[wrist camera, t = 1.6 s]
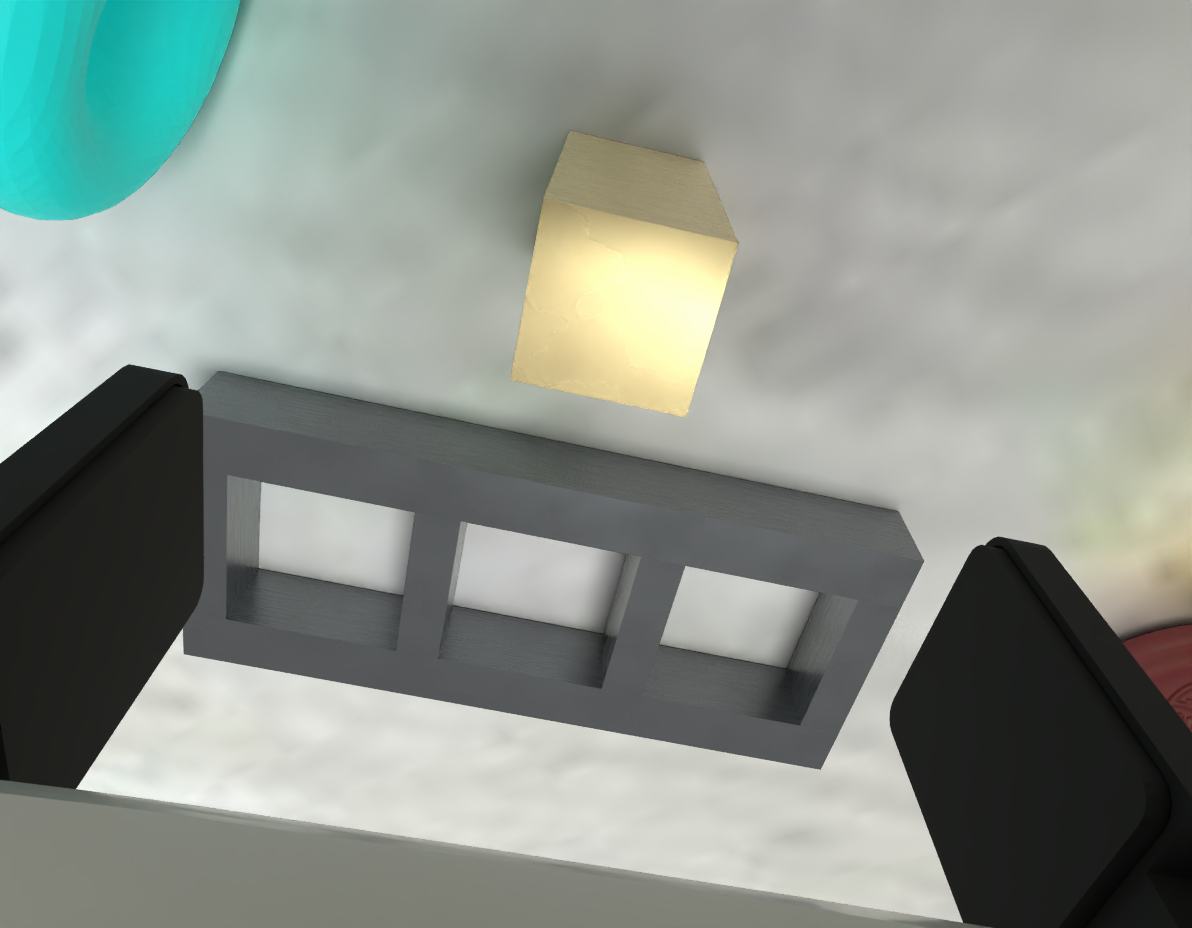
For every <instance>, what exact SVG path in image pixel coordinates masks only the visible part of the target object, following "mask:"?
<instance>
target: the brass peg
mask: <svg viewBox="0 0 1192 928" xmlns="http://www.w3.org/2000/svg"><path fill="white" fill-rule="evenodd" d="M737 246H738V241H737V238H736V236H735V234H734V231H733V229H732V227H731V224H730V222H729V219H728V217H727V215H726V212H725V210H724V208H723V205H722V203H721V201H720V198H719V196H718V194H717V191H716V189H715V187H714V184H713V182H712V180H711V177H710V175H709V173H708V170H707V168H706V166H705V163H704V162H702V161H698V160H693V159H689V158H685V157H681V156H676V155H672V154H668V153H664V152H659V151H655V150H651V149H647V148H642V147H638V146H634V145H630V144H625V143H621V142H617V141H613V140H608V139H604V138H600V137H596V136H591V135H587V134H583V133H579V132H574V131H570V132H569V134H568V137H567V139H566V142H565V144H564V147H563V149H562V152H561V155H560V157H559V160H558V162H557V165H556V167H555V170H554V172H553V175H552V177H551V180H550V183H549V185H548V188H547V190H546V193H545V195H544V198H543V203H542V208H541V214H540V219H539V225H538V230H537V235H536V241H535V246H534V252H533V257H532V263H531V268H530V274H529V279H528V285H527V290H526V295H525V301H524V306H523V312H522V317H521V323H520V328H519V334H518V339H517V345H516V350H515V355H514V361H513V366H512V372H511V377H510V380H512V381H517V382H522V383H526V384H531V385H536V386H541V387H545V388H550V389H555V390H560V391H564V392H569V393H574V394H578V395H583V396H588V397H593V398H597V399H602V400H607V401H612V402H616V403H621V404H626V405H630V406H635V407H640V408H645V409H649V410H654V411H659V412H663V413H668V414H673V415H678V416H682V417H686V416H687V413H688V410H689V406H690V403H691V400H692V396H693V393H694V390H695V386H696V383H697V380H698V376H699V373H700V370H701V366H702V363H703V360H704V356H705V353H706V350H707V346H708V343H709V340H710V336H711V333H712V330H713V326H714V323H715V320H716V316H717V313H718V310H719V306H720V303H721V300H722V296H723V293H724V290H725V286H726V283H727V280H728V276H729V273H730V270H731V266H732V263H733V260H734V256H735V253H736V250H737Z"/></svg>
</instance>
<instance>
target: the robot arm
mask: <svg viewBox="0 0 1192 928" xmlns="http://www.w3.org/2000/svg"><path fill="white" fill-rule="evenodd" d="M203 583H204V482H203V399H202V396H201V393H200V392H199V391H197V390H192V389H189V388H188V384H187V381H186V379H185V377H184V376H183V375H181V374H176V373H170V372H165V371H160V370H155V369H150V368H145V367H140V366H135V365H127V366H124V367H123V368H121V369H120V370H119V371H117V372H116V373H115V374H114V375H112V376H111V377H110V378H109V379H107V380H106V381H105V382H103V383H102V384H101V385H100V386H98V387H97V388H96V389H95V390H93V391H92V392H91V393H89V394H88V395H87V396H86V397H84V398H83V399H82V400H81V401H79V402H78V403H77V404H76V405H74V406H73V407H72V408H70V409H69V410H68V411H67V412H65V413H64V414H63V415H62V416H60V417H59V418H58V419H56V420H55V421H54V422H53V423H51V424H50V425H49V426H48V427H46V428H45V429H44V430H43V431H41V432H40V433H39V434H37V435H36V436H35V437H34V438H32V439H31V440H30V441H29V442H27V443H26V444H25V445H23V446H22V447H21V448H20V449H18V450H17V451H16V452H15V453H13V454H12V455H11V456H9V457H8V458H7V459H6V460H4V461H3V462H2V463H1V464H0V928H1192V732H1191V731H1190V729H1189V728H1188V727H1187V725H1186V724H1185V723H1184V722H1183V720H1182V719H1181V718H1180V716H1179V715H1178V714H1177V713H1176V711H1175V710H1174V709H1173V707H1172V706H1171V705H1170V704H1169V702H1168V701H1167V700H1166V698H1165V697H1164V696H1163V695H1162V693H1161V692H1160V691H1159V689H1158V688H1157V687H1156V685H1155V684H1154V683H1153V682H1152V680H1151V679H1150V678H1149V676H1148V675H1147V674H1146V673H1145V671H1144V670H1143V669H1142V667H1141V666H1140V665H1139V664H1138V662H1137V661H1136V660H1135V658H1134V657H1133V656H1132V655H1131V653H1130V652H1129V651H1128V649H1127V648H1126V647H1125V646H1124V644H1123V643H1122V642H1121V640H1120V639H1119V638H1118V637H1117V635H1116V634H1115V633H1114V631H1113V630H1112V629H1111V628H1110V626H1109V625H1108V624H1107V622H1106V621H1105V620H1104V619H1103V617H1102V616H1101V615H1100V613H1099V612H1098V611H1097V609H1096V608H1095V607H1094V606H1093V604H1092V603H1091V602H1090V600H1089V599H1088V598H1087V597H1086V595H1085V594H1084V593H1083V591H1082V590H1081V589H1080V588H1079V586H1078V585H1077V584H1076V582H1075V581H1074V580H1073V579H1072V577H1071V576H1070V575H1069V573H1068V572H1067V571H1066V570H1065V568H1064V567H1063V566H1062V564H1061V563H1060V562H1059V561H1058V559H1057V558H1056V557H1055V555H1054V554H1053V553H1052V552H1051V550H1049V549H1048V548H1047V547H1046V546H1043V545H1039V544H1034V543H1029V542H1024V541H1019V540H1014V539H1009V538H1004V537H996V538H993V539H991V540H990V541H989V542H988V543H987V544H986V545H979V546H977V547H975V548H974V549H973V550H972V552H971V553H970V555H969V556H968V558H967V560H966V562H965V564H964V566H963V568H962V570H961V572H960V573H959V575H958V577H957V579H956V581H955V583H954V585H953V587H952V589H951V591H950V593H949V594H948V596H947V598H946V600H945V602H944V604H943V606H942V608H941V610H940V612H939V614H938V616H937V617H936V619H935V621H934V623H933V625H932V627H931V629H930V631H929V633H928V635H927V637H926V638H925V640H924V642H923V644H922V646H921V648H920V650H919V652H918V654H917V656H916V658H915V660H914V661H913V663H912V665H911V667H910V669H909V671H908V673H907V675H906V677H905V679H904V681H903V682H902V684H901V686H900V688H899V690H898V692H897V694H896V696H895V698H894V700H893V702H892V705H891V710H890V727H891V731H892V734H893V737H894V740H895V742H896V745H897V748H898V750H899V753H900V756H901V758H902V761H903V764H904V766H905V769H906V772H907V774H908V777H909V780H910V782H911V785H912V788H913V790H914V793H915V796H916V798H917V801H918V804H919V806H920V809H921V812H922V814H923V817H924V820H925V822H926V825H927V828H928V830H929V833H930V836H931V838H932V841H933V843H934V846H935V849H936V851H937V854H938V857H939V859H940V862H941V865H942V867H943V870H944V873H945V875H946V878H947V881H948V883H949V886H950V889H951V891H952V894H953V897H954V899H955V902H956V905H957V907H958V910H959V913H960V915H961V918H962V921H963V923H960V922H954V921H948V920H941V919H935V918H929V917H923V916H916V915H910V914H904V913H898V912H891V911H885V910H879V909H873V908H866V907H860V906H854V905H848V904H841V903H835V902H829V901H823V900H816V899H810V898H804V897H797V896H791V895H784V894H778V893H771V892H765V891H759V890H752V889H746V888H739V887H733V886H726V885H720V884H713V883H707V882H700V881H694V880H688V879H681V878H675V877H668V876H662V875H655V874H649V873H642V872H636V871H629V870H623V869H616V868H610V867H603V866H597V865H590V864H584V863H577V862H570V861H564V860H557V859H551V858H544V857H538V856H531V855H525V854H518V853H512V852H505V851H499V850H492V849H485V848H479V847H472V846H465V845H459V844H452V843H445V842H438V841H432V840H425V839H418V838H411V837H405V836H398V835H391V834H384V833H378V832H371V831H364V830H357V829H351V828H344V827H337V826H330V825H324V824H317V823H310V822H303V821H297V820H290V819H283V818H276V817H270V816H263V815H256V814H249V813H243V812H236V811H229V810H222V809H216V808H209V807H202V806H195V805H187V804H180V803H173V802H165V801H158V800H151V799H143V798H136V797H129V796H121V795H114V794H107V793H99V792H92V791H84V790H77V789H76V788H77V786H78V785H79V783H80V782H81V780H82V779H83V777H84V776H85V774H86V773H87V771H88V770H89V768H90V767H91V765H92V764H93V762H94V761H95V759H96V758H97V756H98V755H99V753H100V752H101V750H102V749H103V747H104V746H105V744H106V743H107V741H108V740H109V738H110V737H111V735H112V734H113V732H114V731H115V729H116V728H117V726H118V725H119V723H120V722H121V720H122V719H123V717H124V716H125V714H126V713H127V711H128V710H129V708H130V707H131V705H132V704H133V702H134V701H135V699H136V698H137V696H138V695H139V693H140V692H141V690H142V689H143V687H144V685H145V684H146V682H147V681H148V679H149V678H150V676H151V675H152V673H153V672H154V670H155V669H156V667H157V666H158V664H159V663H160V661H161V660H162V658H163V657H164V655H165V654H166V652H167V651H168V649H169V648H170V646H171V645H172V643H173V642H174V640H175V639H176V637H177V636H178V634H179V633H180V631H181V630H182V628H183V627H184V625H185V624H186V622H187V621H188V619H189V618H190V616H191V615H192V613H193V612H194V610H195V608H196V606H197V604H198V602H199V599H200V596H201V593H202V589H203Z"/></svg>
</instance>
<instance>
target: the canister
mask: <svg viewBox="0 0 1192 928" xmlns="http://www.w3.org/2000/svg"><path fill="white" fill-rule="evenodd" d="M1122 643H1123V644H1124V646H1125V647H1126V648H1127V649H1128V651H1129V652H1130V653H1131V655H1132V656H1133V657H1134V658H1135V660H1136V661H1137V662H1138V664H1139V665H1140V666H1141V667H1142V669H1143V670H1144V671H1145V673H1146V674H1147V675H1148V676H1149V678H1150V679H1151V680H1152V682H1153V683H1154V684H1155V685H1156V687H1157V688H1158V689H1159V691H1160V692H1161V693H1162V695H1163V696H1164V697H1165V698H1166V700H1167V701H1168V702H1169V704H1170V705H1171V706H1172V707H1173V709H1174V710H1175V711H1176V713H1177V714H1178V715H1179V716H1180V718H1181V719H1182V720H1183V722H1184V723H1185V724H1186V725H1187V727H1188V728H1189V729H1190V731H1191V732H1192V624H1191V625H1184V626H1178V627H1172V628H1167V629H1163V630H1159V631H1155V632H1151V633H1148V634H1145V635H1141V636H1138V637H1136V638H1133V639H1130V640H1127V641H1125V642H1122Z"/></svg>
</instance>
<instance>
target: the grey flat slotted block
mask: <svg viewBox="0 0 1192 928" xmlns="http://www.w3.org/2000/svg"><path fill="white" fill-rule="evenodd" d="M198 391H199V392H200V393H201V396H202V399H203V482H204V583H203V589H202V593H201V596H200V599H199V602H198V604H197V606H196V608H195V610H194V612H193V613H192V615H191V616H190V618H189V619H188V621H187V622H186V624H185V625H184V627H183V646H184V654H186V655H192V656H197V657H203V658H208V659H214V660H219V661H225V662H230V663H236V664H241V665H247V666H252V667H258V668H263V669H269V670H274V671H280V672H285V673H291V674H297V675H302V676H308V677H313V678H319V679H324V680H330V681H335V682H341V683H346V684H352V685H357V686H363V687H368V688H374V689H379V690H385V691H390V692H396V693H401V694H407V695H412V696H418V697H423V698H429V699H434V700H440V701H445V702H451V703H456V704H462V705H467V706H473V707H478V708H484V709H489V710H495V711H500V712H506V713H511V714H517V715H522V716H528V717H534V718H539V719H545V720H550V721H556V722H561V723H567V724H572V725H578V726H583V727H589V728H594V729H600V730H605V731H611V732H616V733H622V734H627V735H633V736H638V737H644V738H649V739H655V740H660V741H666V742H671V743H677V744H682V745H688V746H693V747H699V748H704V749H710V750H715V751H721V752H726V753H732V754H737V755H743V756H748V757H754V758H760V759H765V760H771V761H776V762H782V763H787V764H793V765H798V766H804V767H809V768H815V769H820V770H821V768H822V766H823V764H824V762H825V760H826V758H827V756H828V754H829V752H830V750H831V748H832V746H833V744H834V742H835V740H836V738H837V736H838V734H839V731H840V729H841V727H842V725H843V723H844V721H845V719H846V717H847V715H848V713H849V711H850V709H851V707H852V705H853V703H854V701H855V699H856V697H857V695H858V693H859V691H860V689H861V687H862V685H863V683H864V681H865V679H866V677H867V675H868V673H869V671H870V669H871V667H872V665H873V663H874V661H875V659H876V657H877V655H878V653H879V651H880V649H881V647H882V645H883V643H884V641H885V639H886V637H887V635H888V633H889V631H890V629H891V627H892V625H893V623H894V621H895V619H896V617H897V615H898V613H899V611H900V609H901V607H902V605H903V603H904V601H905V599H906V597H907V595H908V593H909V591H910V589H911V587H912V585H913V583H914V581H915V579H916V577H917V575H918V573H919V571H920V569H921V566H922V564H923V562H924V560H923V558H922V556H921V554H920V552H919V550H918V548H917V546H916V544H915V542H914V540H913V538H912V536H911V534H910V533H909V531H908V529H907V527H906V525H905V523H904V521H903V519H902V517H901V515H900V513H899V512H897V511H892V510H887V509H883V508H878V507H873V506H868V505H863V504H858V503H854V502H849V501H844V500H839V499H834V498H829V497H825V496H820V495H815V494H810V493H805V492H800V491H796V490H791V489H786V488H781V487H776V486H771V485H767V484H762V483H757V482H752V481H747V480H742V479H738V478H733V477H728V476H723V475H718V474H713V473H709V472H704V471H699V470H694V469H689V468H684V467H680V466H675V465H670V464H665V463H660V462H655V461H651V460H646V459H641V458H636V457H631V456H626V455H622V454H617V453H612V452H607V451H602V450H597V449H593V448H588V447H583V446H578V445H573V444H568V443H564V442H559V441H554V440H549V439H544V438H539V437H535V436H530V435H525V434H520V433H515V432H510V431H506V430H501V429H496V428H491V427H486V426H481V425H477V424H472V423H467V422H462V421H457V420H452V419H448V418H443V417H438V416H433V415H428V414H423V413H419V412H414V411H409V410H404V409H399V408H394V407H390V406H385V405H380V404H375V403H370V402H365V401H361V400H356V399H351V398H346V397H341V396H336V395H332V394H327V393H322V392H317V391H312V390H307V389H302V388H298V387H293V386H288V385H283V384H278V383H273V382H269V381H264V380H259V379H254V378H249V377H244V376H240V375H235V374H230V373H225V372H220V371H218V372H217V373H216V374H215V375H214V376H213V377H212V378H211V379H210V380H209V381H208V382H207V383H206V384H205V385H204V386H202V387H201V388H200V389H199V390H198ZM261 482H265V483H270V484H275V485H280V486H285V487H290V488H295V489H300V490H305V491H310V492H315V493H320V494H326V495H331V496H336V497H341V498H346V499H351V500H356V501H361V502H366V503H371V504H376V505H381V506H386V507H391V508H396V509H401V510H406V511H411V512H415V516H414V523H413V530H412V538H411V545H410V553H409V560H408V567H407V575H406V582H405V589H404V596H399V595H393V594H388V593H383V592H378V591H372V590H367V589H362V588H357V587H351V586H346V585H341V584H335V583H330V582H325V581H320V580H314V579H309V578H304V577H299V576H293V575H288V574H283V573H278V572H272V571H267V570H262V569H258V551H259V518H260V485H261ZM467 523H472V524H477V525H482V526H487V527H492V528H497V529H502V530H507V531H513V532H518V533H523V534H528V535H533V536H538V537H543V538H548V539H553V540H558V541H563V542H568V543H573V544H578V545H583V546H588V547H593V548H598V549H603V550H609V551H614V552H619V553H624V554H627V555H626V559H625V562H624V566H623V569H622V573H621V576H620V580H619V583H618V587H617V590H616V594H615V597H614V601H613V604H612V608H611V611H610V614H609V618H608V621H607V625H606V628H605V632H604V634H598V633H593V632H588V631H583V630H577V629H572V628H567V627H562V626H556V625H551V624H546V623H541V622H535V621H530V620H525V619H520V618H514V617H509V616H504V615H499V614H493V613H488V612H483V611H477V610H472V609H467V608H462V607H456V606H453V601H454V595H455V590H456V584H457V578H458V572H459V566H460V560H461V555H462V549H463V543H464V537H465V531H466V526H467ZM685 566H689V567H694V568H699V569H705V570H710V571H715V572H720V573H725V574H730V575H735V576H740V577H745V578H750V579H755V580H760V581H765V582H770V583H775V584H780V585H785V586H790V587H796V588H801V589H806V590H811V591H816V592H820V594H819V596H818V599H817V601H816V603H815V606H814V608H813V610H812V613H811V615H810V617H809V620H808V622H807V624H806V626H805V629H804V631H803V633H802V636H801V638H800V640H799V643H798V645H797V647H796V649H795V652H794V654H793V656H792V659H791V661H790V663H789V666H788V668H787V669H783V668H777V667H772V666H767V665H762V664H756V663H751V662H746V661H740V660H735V659H730V658H725V657H719V656H714V655H709V654H704V653H698V652H693V651H688V650H683V649H677V648H672V647H667V646H662V645H659V644H660V641H661V638H662V635H663V631H664V628H665V625H666V622H667V619H668V616H669V613H670V610H671V607H672V604H673V601H674V598H675V595H676V592H677V589H678V586H679V583H680V580H681V577H682V574H683V571H684V568H685Z"/></svg>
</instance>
